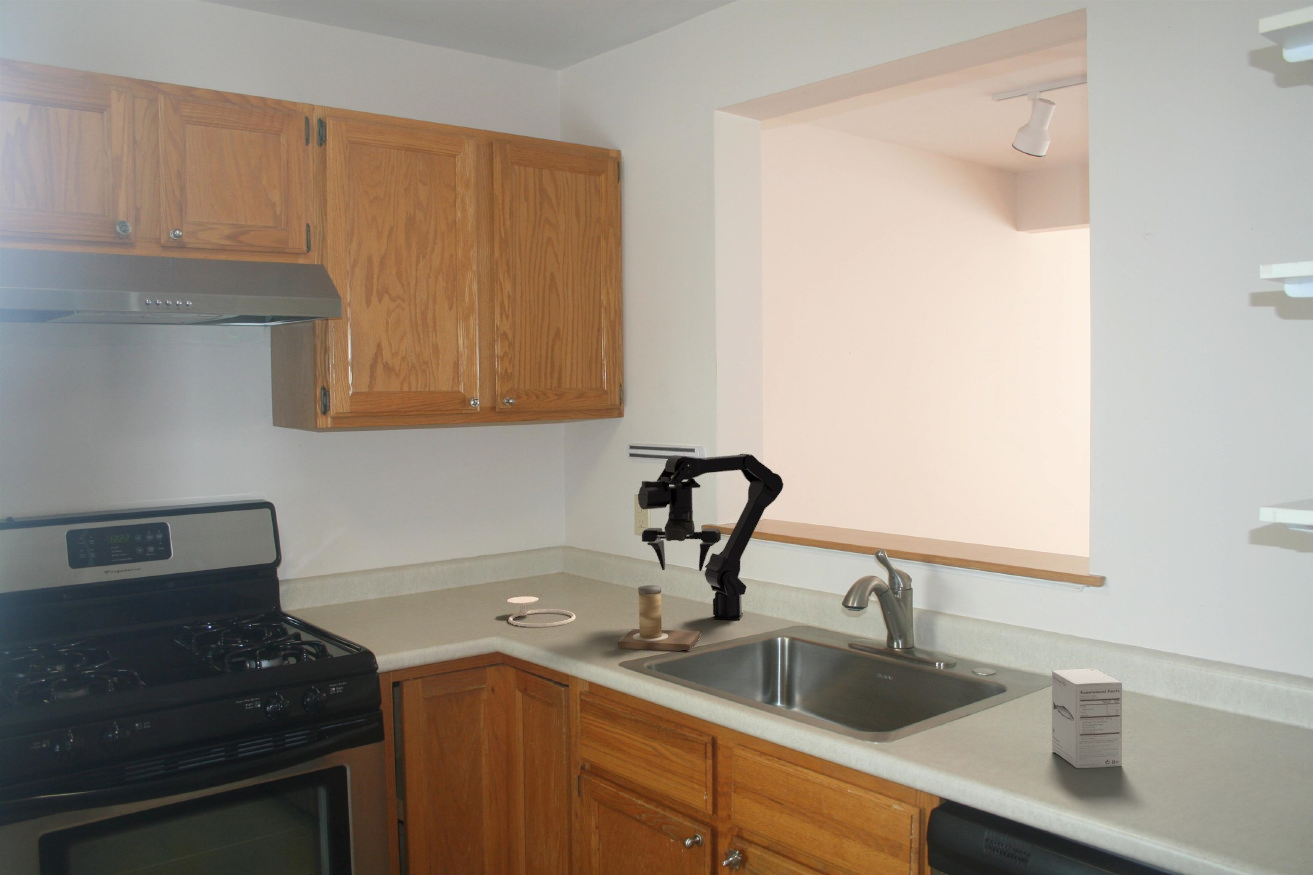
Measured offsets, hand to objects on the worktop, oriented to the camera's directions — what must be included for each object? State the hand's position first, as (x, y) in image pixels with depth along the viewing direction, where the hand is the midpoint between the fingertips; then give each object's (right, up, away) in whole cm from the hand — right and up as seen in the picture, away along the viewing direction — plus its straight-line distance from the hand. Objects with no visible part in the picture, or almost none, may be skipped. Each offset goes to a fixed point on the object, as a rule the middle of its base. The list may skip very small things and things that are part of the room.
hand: (681, 570), depth 239 cm
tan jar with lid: (-8, -12, -19) cm, 24 cm away
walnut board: (-5, -14, -19) cm, 24 cm away
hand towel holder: (-36, -14, +9) cm, 40 cm away
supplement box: (+58, -16, -94) cm, 111 cm away
